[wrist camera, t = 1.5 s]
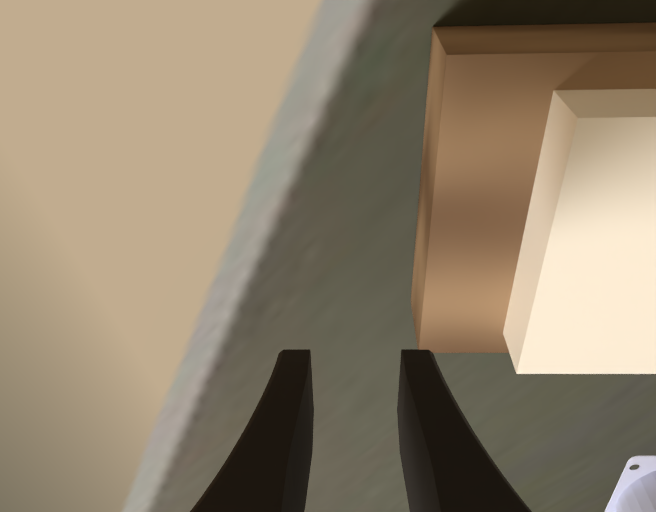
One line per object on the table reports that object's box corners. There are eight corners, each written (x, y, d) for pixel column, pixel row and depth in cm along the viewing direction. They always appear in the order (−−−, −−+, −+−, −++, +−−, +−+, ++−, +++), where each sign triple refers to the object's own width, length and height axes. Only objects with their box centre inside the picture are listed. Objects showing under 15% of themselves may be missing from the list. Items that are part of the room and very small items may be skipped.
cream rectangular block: (670, 332, 21) (698, 373, 19) (502, 332, 21) (516, 373, 19) (778, 86, 15) (829, 114, 14) (553, 90, 16) (578, 118, 14)
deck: (752, 300, 23) (799, 352, 21) (410, 301, 24) (418, 352, 21) (900, 17, 17) (994, 45, 15) (432, 26, 18) (446, 54, 15)
